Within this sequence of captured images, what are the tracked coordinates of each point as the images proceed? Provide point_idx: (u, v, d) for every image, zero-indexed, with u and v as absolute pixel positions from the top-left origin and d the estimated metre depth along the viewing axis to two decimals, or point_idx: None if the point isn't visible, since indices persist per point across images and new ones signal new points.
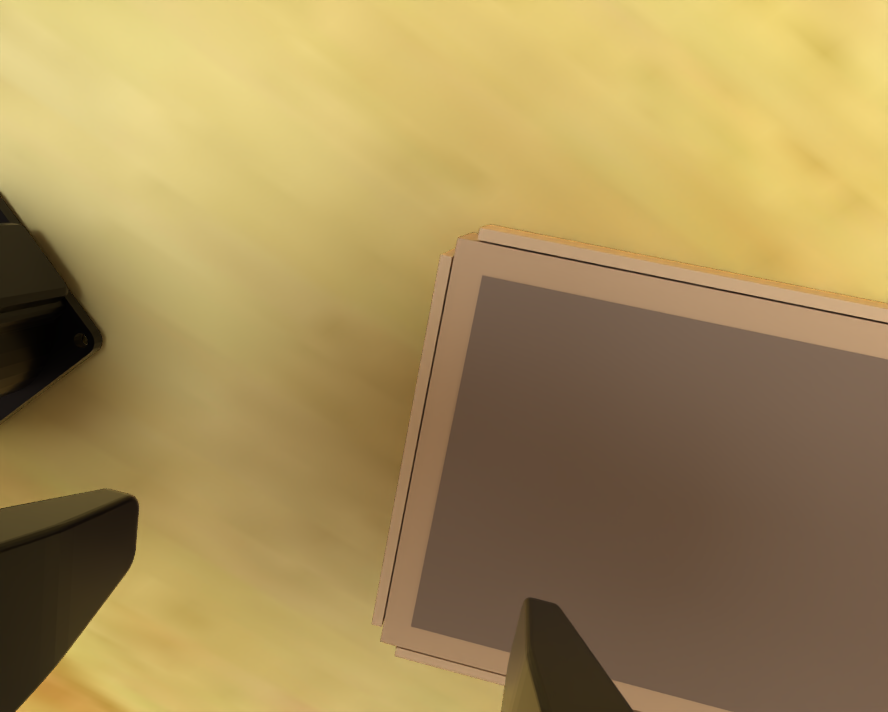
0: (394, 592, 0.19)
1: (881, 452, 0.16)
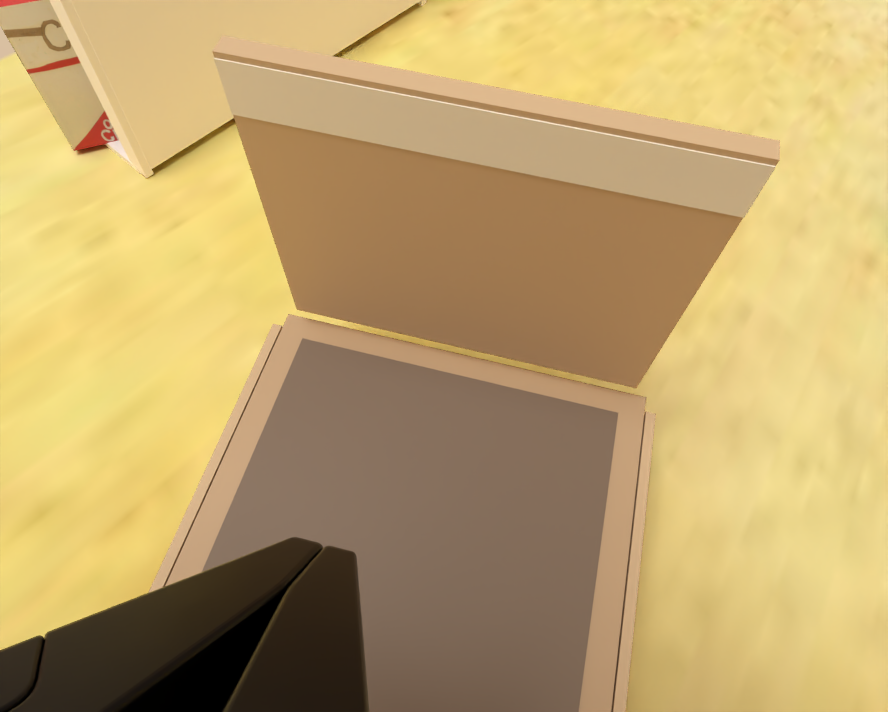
0: None
1: (328, 464, 0.20)
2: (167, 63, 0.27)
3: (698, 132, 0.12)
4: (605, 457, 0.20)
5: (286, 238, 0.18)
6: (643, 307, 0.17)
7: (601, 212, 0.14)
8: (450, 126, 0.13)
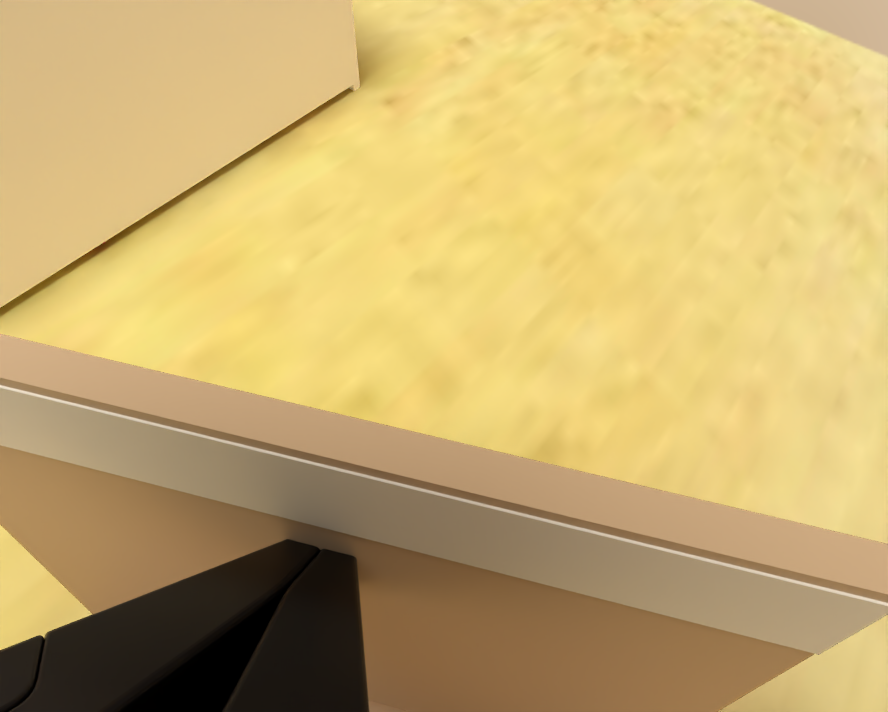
0: None
1: None
2: None
3: (732, 525, 0.06)
4: None
5: (52, 559, 0.11)
6: (627, 708, 0.10)
7: (548, 608, 0.08)
8: (252, 475, 0.07)
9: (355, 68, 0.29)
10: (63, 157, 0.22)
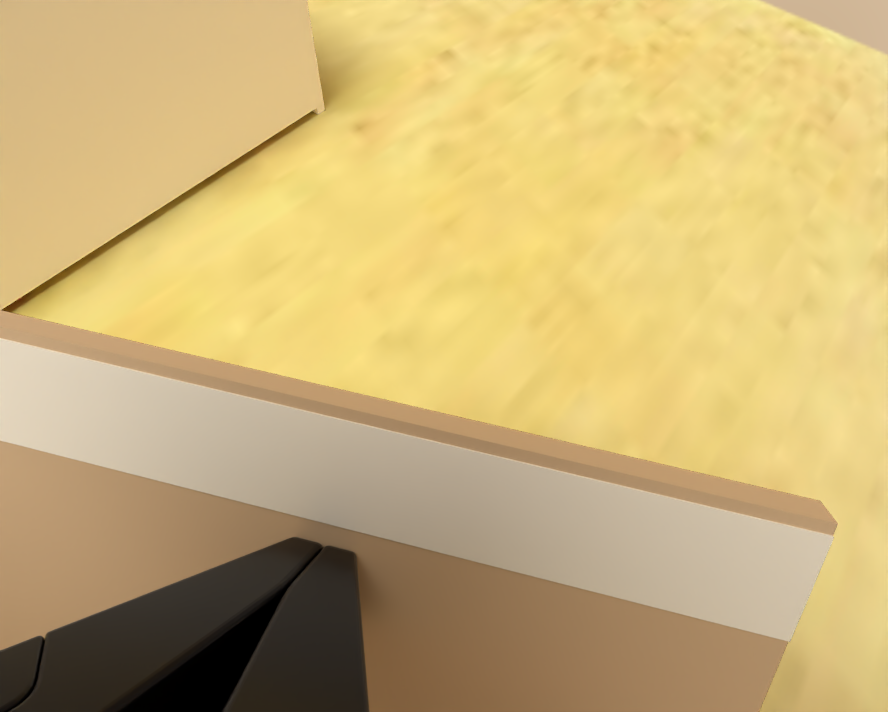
0: None
1: None
2: None
3: (693, 478, 0.08)
4: None
5: None
6: None
7: (541, 627, 0.08)
8: (289, 450, 0.08)
9: (318, 90, 0.26)
10: None
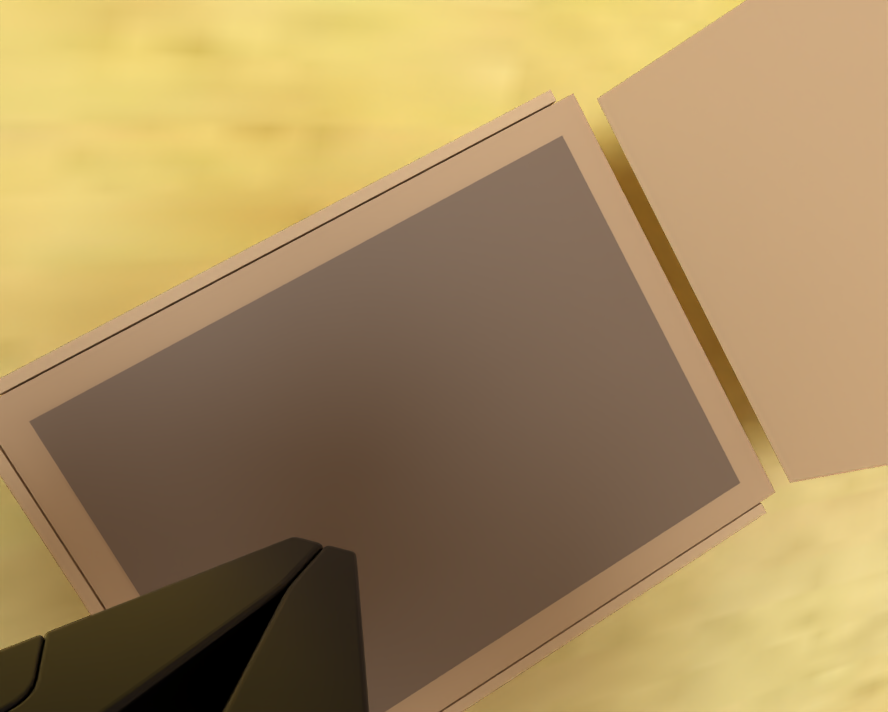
0: None
1: (472, 287, 0.17)
2: None
3: None
4: (689, 507, 0.18)
5: (759, 15, 0.14)
6: None
7: None
8: None
9: None
10: None
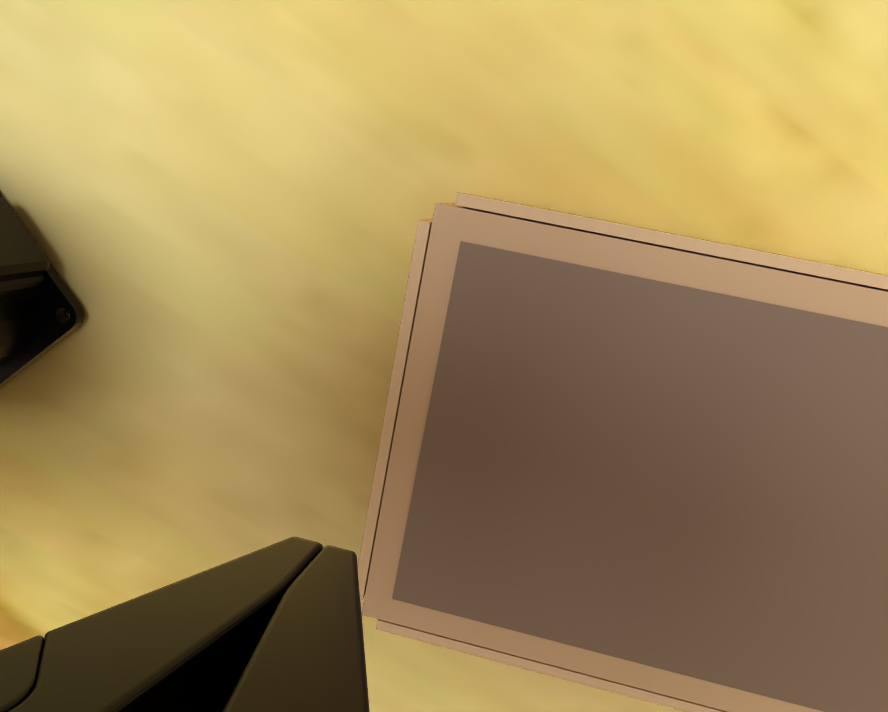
0: (375, 564, 0.19)
1: (862, 418, 0.16)
2: None
3: None
4: None
5: None
6: None
7: None
8: None
9: None
10: None
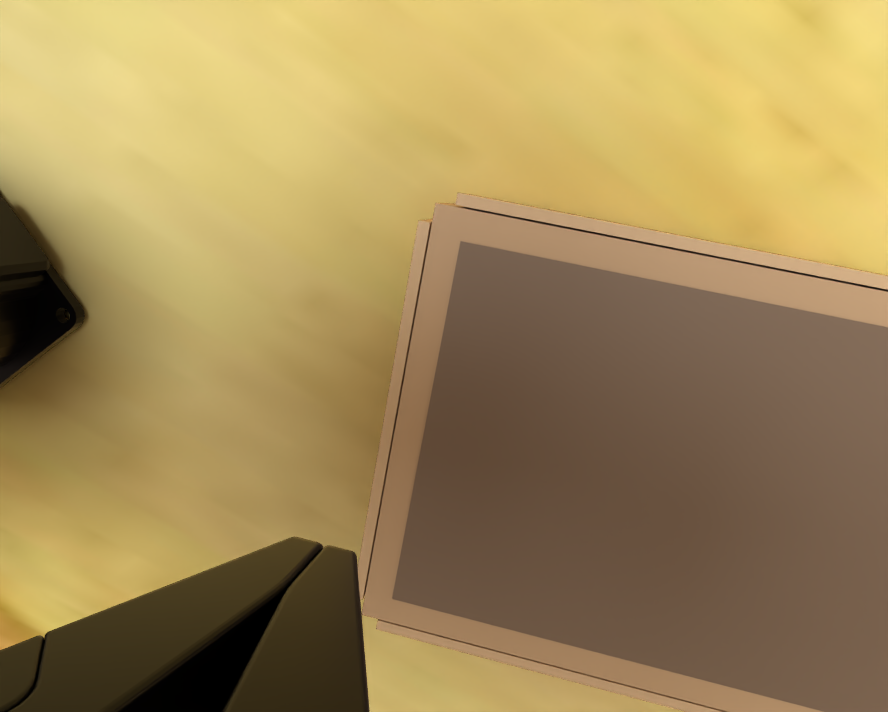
0: (375, 564, 0.19)
1: (862, 418, 0.16)
2: None
3: None
4: None
5: None
6: None
7: None
8: None
9: None
10: None
